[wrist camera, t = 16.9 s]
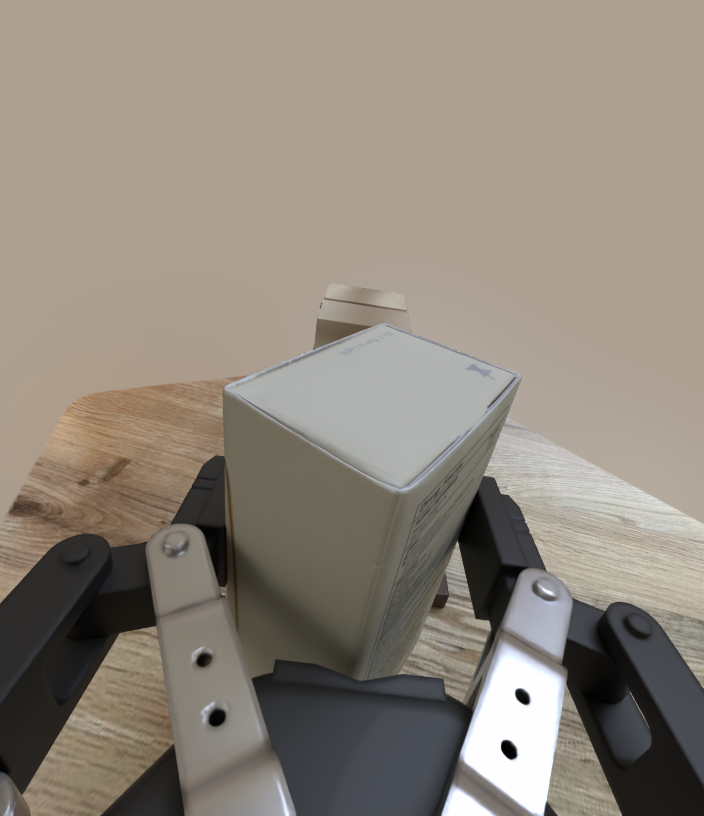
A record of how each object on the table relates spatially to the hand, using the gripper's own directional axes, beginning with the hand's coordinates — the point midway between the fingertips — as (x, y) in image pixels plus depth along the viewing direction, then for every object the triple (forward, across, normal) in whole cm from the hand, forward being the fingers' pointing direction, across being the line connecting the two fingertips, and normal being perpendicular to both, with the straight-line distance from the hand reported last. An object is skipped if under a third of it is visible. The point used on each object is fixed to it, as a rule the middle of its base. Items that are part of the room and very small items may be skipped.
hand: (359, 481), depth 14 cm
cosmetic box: (-2, 0, +7) cm, 8 cm away
